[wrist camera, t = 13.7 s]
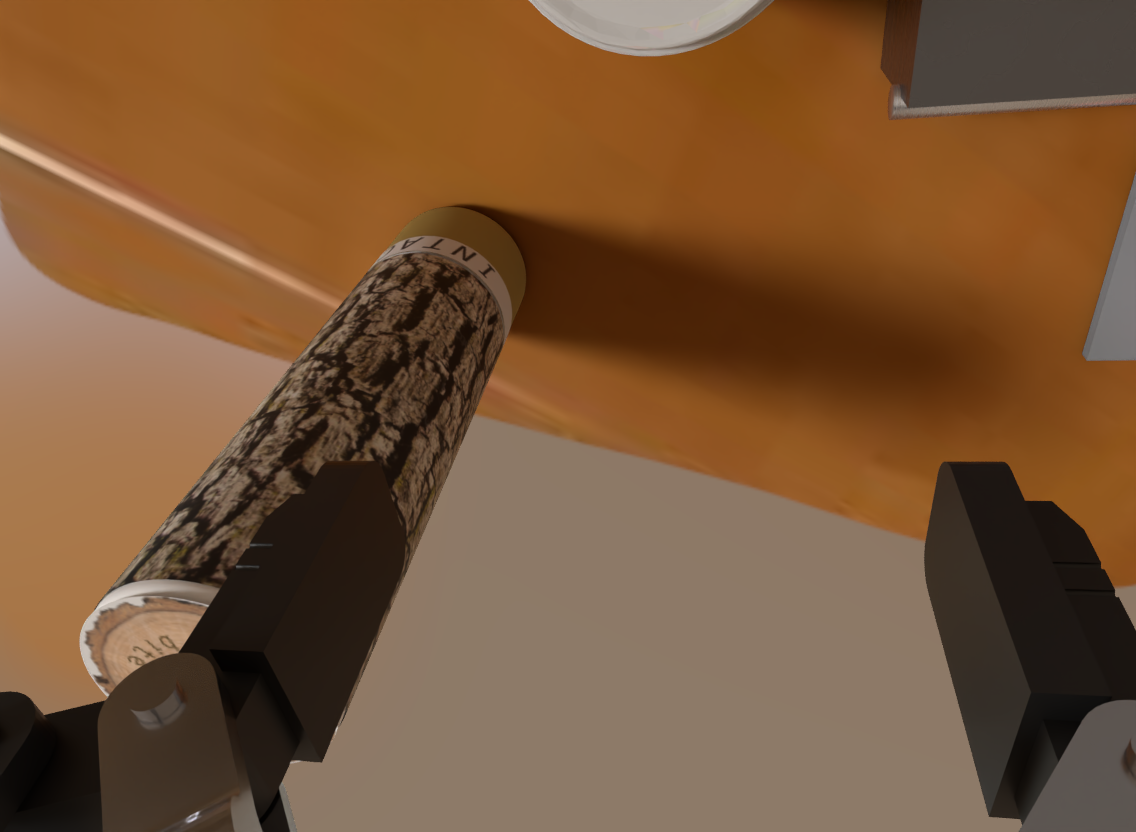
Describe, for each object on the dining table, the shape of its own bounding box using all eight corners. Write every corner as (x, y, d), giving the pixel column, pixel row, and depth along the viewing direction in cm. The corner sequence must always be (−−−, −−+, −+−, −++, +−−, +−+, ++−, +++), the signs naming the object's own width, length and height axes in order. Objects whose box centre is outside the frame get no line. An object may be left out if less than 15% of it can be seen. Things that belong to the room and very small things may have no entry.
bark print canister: (538, 323, 42) (370, 774, 22) (415, 328, 43) (148, 757, 23) (517, 196, 38) (289, 599, 18) (382, 206, 39) (28, 591, 19)
